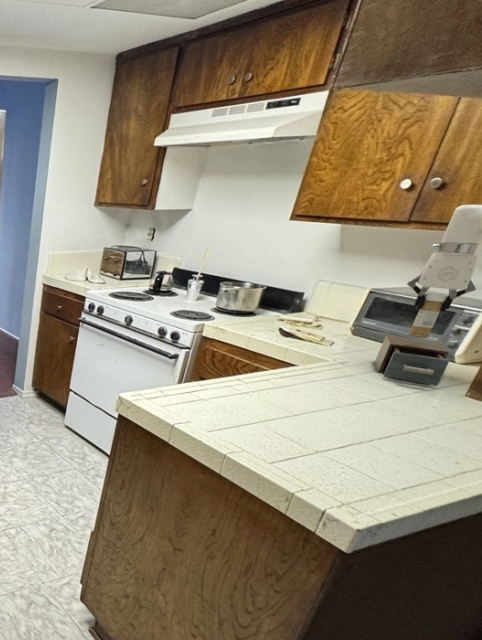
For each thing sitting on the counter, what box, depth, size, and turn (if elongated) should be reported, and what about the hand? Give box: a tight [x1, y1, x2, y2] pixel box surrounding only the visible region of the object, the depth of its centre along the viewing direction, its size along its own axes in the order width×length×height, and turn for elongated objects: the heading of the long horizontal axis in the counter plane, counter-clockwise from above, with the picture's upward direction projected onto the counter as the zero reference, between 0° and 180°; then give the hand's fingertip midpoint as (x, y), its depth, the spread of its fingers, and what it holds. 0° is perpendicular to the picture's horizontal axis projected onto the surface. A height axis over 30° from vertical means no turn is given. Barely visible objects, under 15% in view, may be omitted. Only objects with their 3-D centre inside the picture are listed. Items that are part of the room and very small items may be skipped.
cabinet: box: [374, 334, 449, 374], centre depth 150 cm, size 15×13×10 cm
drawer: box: [383, 347, 450, 387], centre depth 143 cm, size 18×11×8 cm, turn 139°
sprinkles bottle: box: [408, 292, 448, 339], centre depth 147 cm, size 5×5×14 cm
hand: (430, 309), depth 146 cm, fingers closed on sprinkles bottle, 4 cm apart
